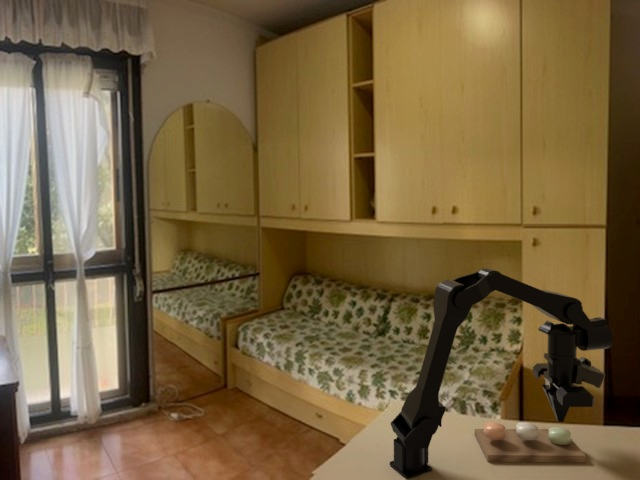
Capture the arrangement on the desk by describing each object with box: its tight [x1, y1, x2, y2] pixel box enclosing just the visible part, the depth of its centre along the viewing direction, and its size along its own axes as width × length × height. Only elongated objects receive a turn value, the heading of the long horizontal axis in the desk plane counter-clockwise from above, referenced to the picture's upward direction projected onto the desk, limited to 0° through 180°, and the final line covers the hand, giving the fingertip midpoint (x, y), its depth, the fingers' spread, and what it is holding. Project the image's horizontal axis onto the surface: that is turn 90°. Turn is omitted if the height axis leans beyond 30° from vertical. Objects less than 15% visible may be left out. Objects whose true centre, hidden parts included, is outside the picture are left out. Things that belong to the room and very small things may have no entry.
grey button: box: [515, 422, 539, 440], centre depth 117 cm, size 4×4×2 cm
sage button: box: [548, 426, 572, 445], centre depth 117 cm, size 4×4×2 cm
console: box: [473, 428, 586, 463], centre depth 117 cm, size 20×12×2 cm, turn 87°
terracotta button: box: [483, 421, 506, 440], centre depth 117 cm, size 4×4×2 cm
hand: (560, 421), depth 116 cm, fingers closed
